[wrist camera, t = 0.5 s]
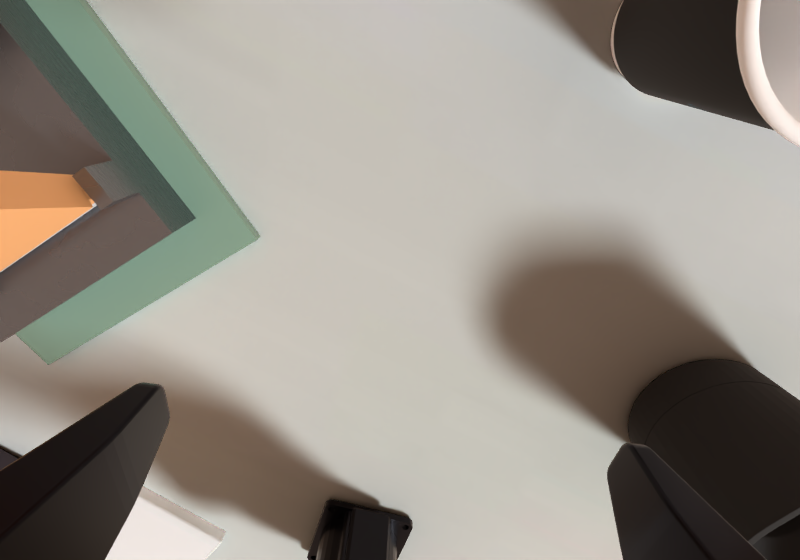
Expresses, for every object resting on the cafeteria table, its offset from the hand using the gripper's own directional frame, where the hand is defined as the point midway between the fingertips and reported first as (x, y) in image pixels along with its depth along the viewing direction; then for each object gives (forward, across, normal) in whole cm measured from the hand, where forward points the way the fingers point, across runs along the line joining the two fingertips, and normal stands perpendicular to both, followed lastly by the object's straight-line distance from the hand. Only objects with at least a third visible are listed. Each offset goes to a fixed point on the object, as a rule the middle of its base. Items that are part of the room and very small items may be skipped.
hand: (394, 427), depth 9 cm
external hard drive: (+12, +17, +28) cm, 36 cm away
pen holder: (+14, -20, +12) cm, 27 cm away
